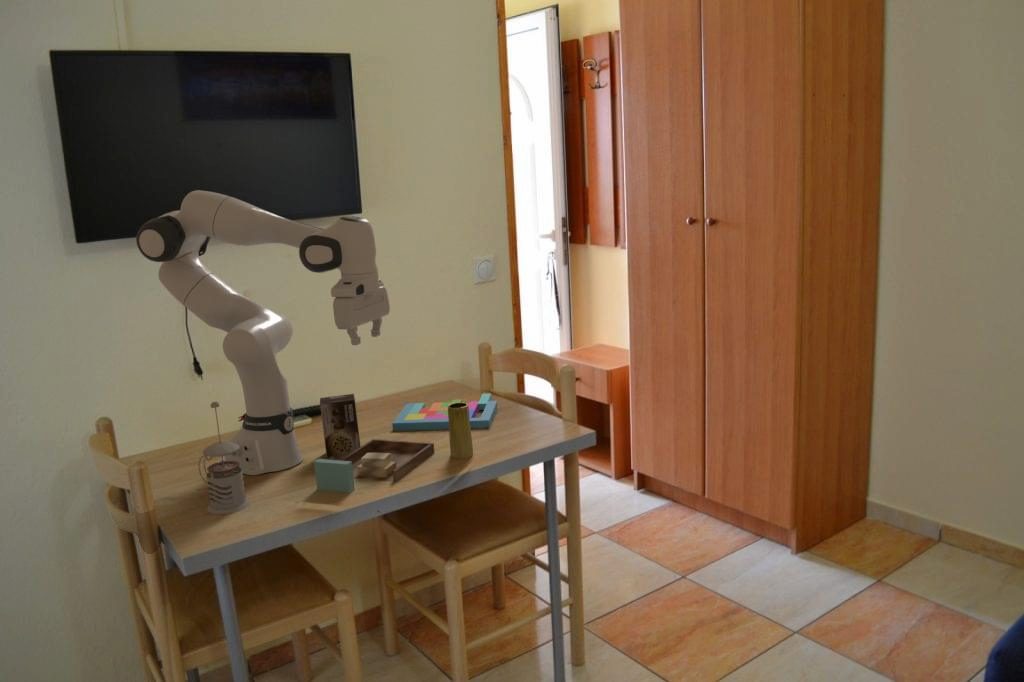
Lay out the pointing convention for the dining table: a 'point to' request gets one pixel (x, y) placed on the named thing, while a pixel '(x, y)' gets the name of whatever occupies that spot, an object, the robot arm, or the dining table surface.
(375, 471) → the offcut low
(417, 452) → the brown wooden tray
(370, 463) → the offcut top
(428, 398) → the dining table surface
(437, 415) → the tetris game
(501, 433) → the dining table surface
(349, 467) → the teal rectangular block
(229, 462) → the french press
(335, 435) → the coffee box
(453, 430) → the vase
